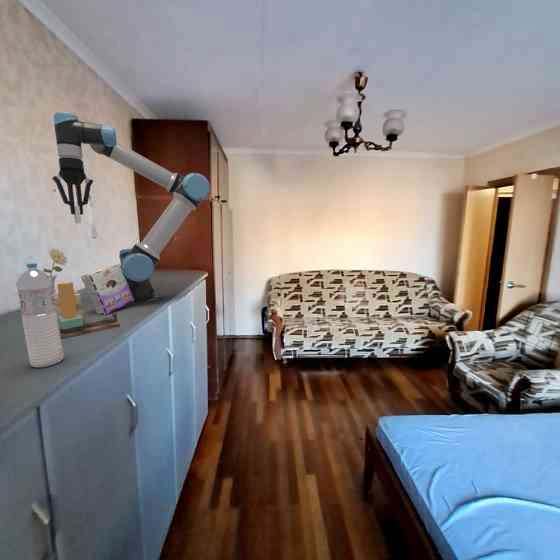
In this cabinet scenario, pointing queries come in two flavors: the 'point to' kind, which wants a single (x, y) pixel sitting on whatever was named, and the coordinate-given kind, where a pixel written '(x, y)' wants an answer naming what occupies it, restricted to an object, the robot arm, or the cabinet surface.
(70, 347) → the cabinet surface
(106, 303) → the candy box
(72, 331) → the rail board
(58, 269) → the flower in vase
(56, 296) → the tan hollow wooden box
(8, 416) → the cabinet surface
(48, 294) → the water bottle
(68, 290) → the block
